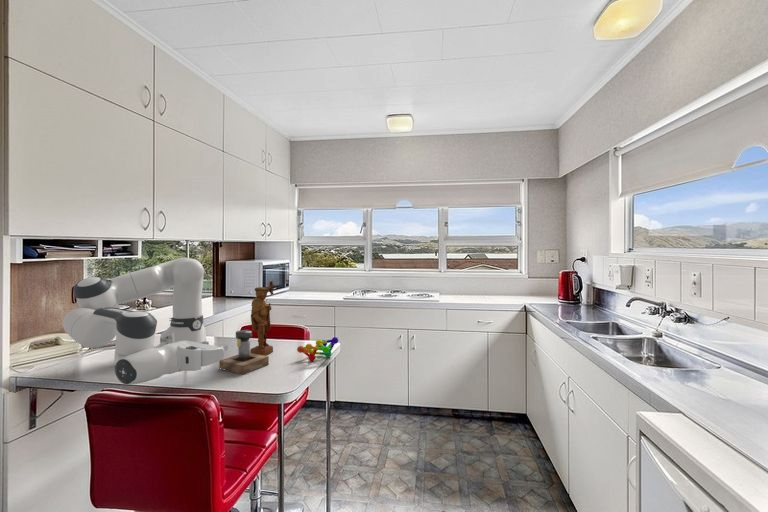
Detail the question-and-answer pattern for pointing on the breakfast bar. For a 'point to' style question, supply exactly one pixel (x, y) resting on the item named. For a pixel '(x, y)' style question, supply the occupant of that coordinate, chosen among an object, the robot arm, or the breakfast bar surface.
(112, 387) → the breakfast bar surface
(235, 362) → the wooden stand
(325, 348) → the decorative model
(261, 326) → the sculpture
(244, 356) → the knob stem
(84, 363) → the breakfast bar surface
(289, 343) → the breakfast bar surface
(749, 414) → the breakfast bar surface
